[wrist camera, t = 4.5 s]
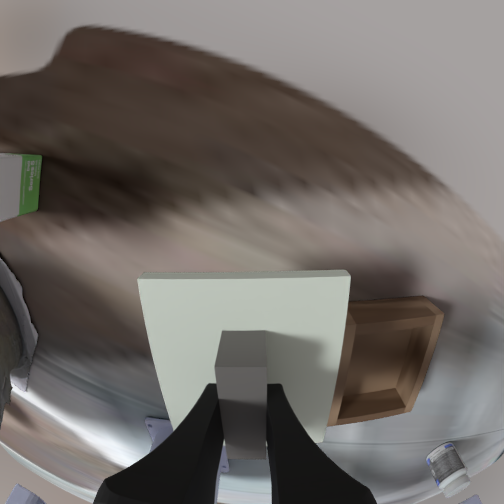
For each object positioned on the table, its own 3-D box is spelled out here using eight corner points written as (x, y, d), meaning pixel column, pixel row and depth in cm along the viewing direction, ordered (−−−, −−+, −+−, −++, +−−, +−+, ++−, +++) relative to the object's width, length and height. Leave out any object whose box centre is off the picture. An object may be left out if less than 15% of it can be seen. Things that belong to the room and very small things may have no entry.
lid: (320, 433, 15) (329, 474, 11) (179, 432, 15) (169, 473, 12) (345, 269, 12) (372, 303, 9) (143, 272, 12) (110, 304, 9)
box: (398, 388, 23) (410, 411, 20) (319, 399, 23) (326, 426, 20) (423, 295, 20) (444, 314, 17) (332, 302, 20) (344, 325, 17)
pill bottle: (420, 459, 27) (438, 500, 19) (444, 439, 26) (466, 480, 18) (434, 461, 28) (451, 498, 20) (456, 442, 27) (477, 479, 19)
